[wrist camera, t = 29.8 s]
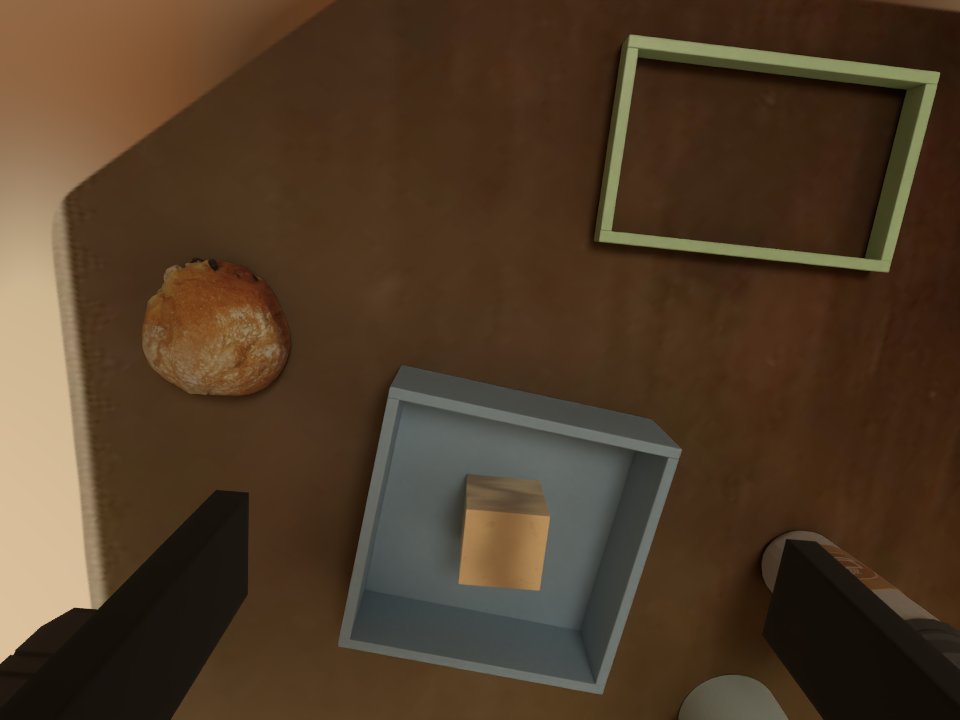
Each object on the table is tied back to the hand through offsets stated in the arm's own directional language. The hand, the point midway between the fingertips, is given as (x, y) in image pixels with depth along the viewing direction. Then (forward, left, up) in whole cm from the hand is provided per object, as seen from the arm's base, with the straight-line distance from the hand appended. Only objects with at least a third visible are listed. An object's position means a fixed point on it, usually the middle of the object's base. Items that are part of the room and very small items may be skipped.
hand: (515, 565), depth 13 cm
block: (+14, -4, -30) cm, 33 cm away
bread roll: (-8, -18, -31) cm, 36 cm away
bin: (+14, -4, -30) cm, 34 cm away
